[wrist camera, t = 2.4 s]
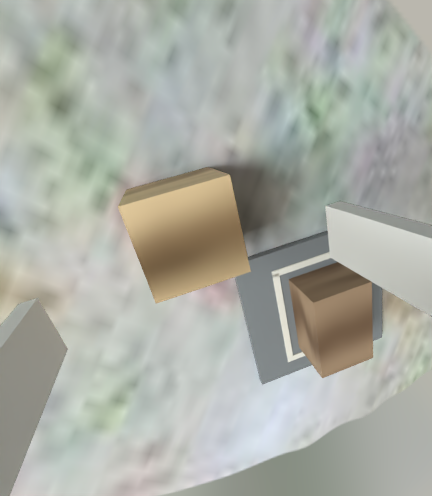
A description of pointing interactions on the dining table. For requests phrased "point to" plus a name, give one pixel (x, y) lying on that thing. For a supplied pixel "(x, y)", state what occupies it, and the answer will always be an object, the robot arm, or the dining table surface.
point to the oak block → (185, 232)
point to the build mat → (284, 304)
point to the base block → (333, 317)
